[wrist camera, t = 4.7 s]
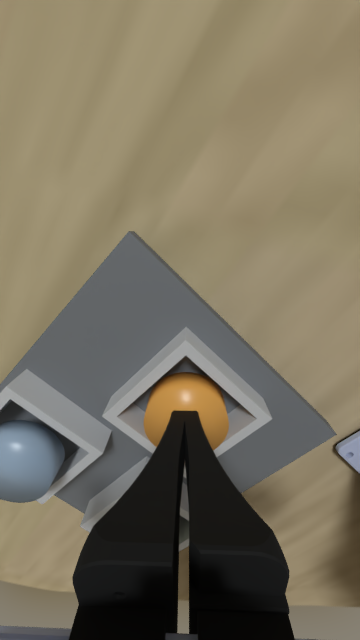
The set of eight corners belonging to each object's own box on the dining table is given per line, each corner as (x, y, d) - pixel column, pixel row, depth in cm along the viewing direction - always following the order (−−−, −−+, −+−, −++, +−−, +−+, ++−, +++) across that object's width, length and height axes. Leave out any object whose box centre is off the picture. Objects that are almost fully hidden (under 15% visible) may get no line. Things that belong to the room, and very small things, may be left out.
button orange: (240, 405, 14) (246, 426, 13) (186, 445, 16) (186, 469, 14) (186, 357, 13) (185, 374, 12) (133, 403, 15) (126, 424, 13)
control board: (326, 421, 17) (354, 458, 14) (148, 535, 22) (142, 579, 19) (134, 231, 13) (119, 231, 10) (-29, 423, 18) (-69, 458, 15)
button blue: (79, 450, 15) (66, 475, 13) (39, 485, 16) (23, 513, 15) (15, 406, 14) (-7, 429, 12) (-22, 447, 15) (-47, 473, 14)
